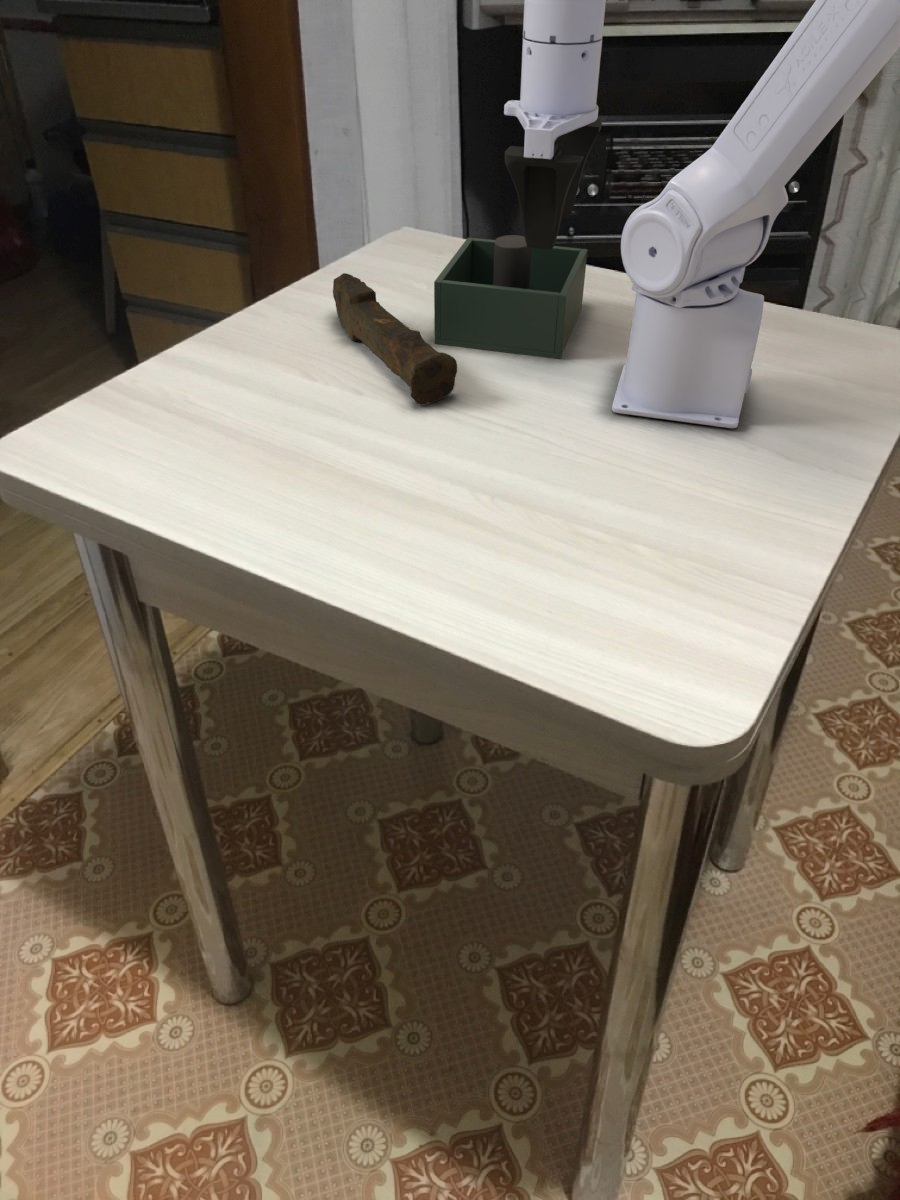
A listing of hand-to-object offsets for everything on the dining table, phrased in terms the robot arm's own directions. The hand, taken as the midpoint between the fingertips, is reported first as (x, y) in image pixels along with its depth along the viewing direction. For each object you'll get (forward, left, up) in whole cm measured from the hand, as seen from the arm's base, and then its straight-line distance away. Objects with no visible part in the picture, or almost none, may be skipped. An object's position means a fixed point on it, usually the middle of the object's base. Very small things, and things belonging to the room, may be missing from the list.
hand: (549, 231), depth 74 cm
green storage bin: (+3, -2, -9) cm, 10 cm away
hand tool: (+13, +8, -10) cm, 18 cm away
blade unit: (+3, -2, -9) cm, 10 cm away
